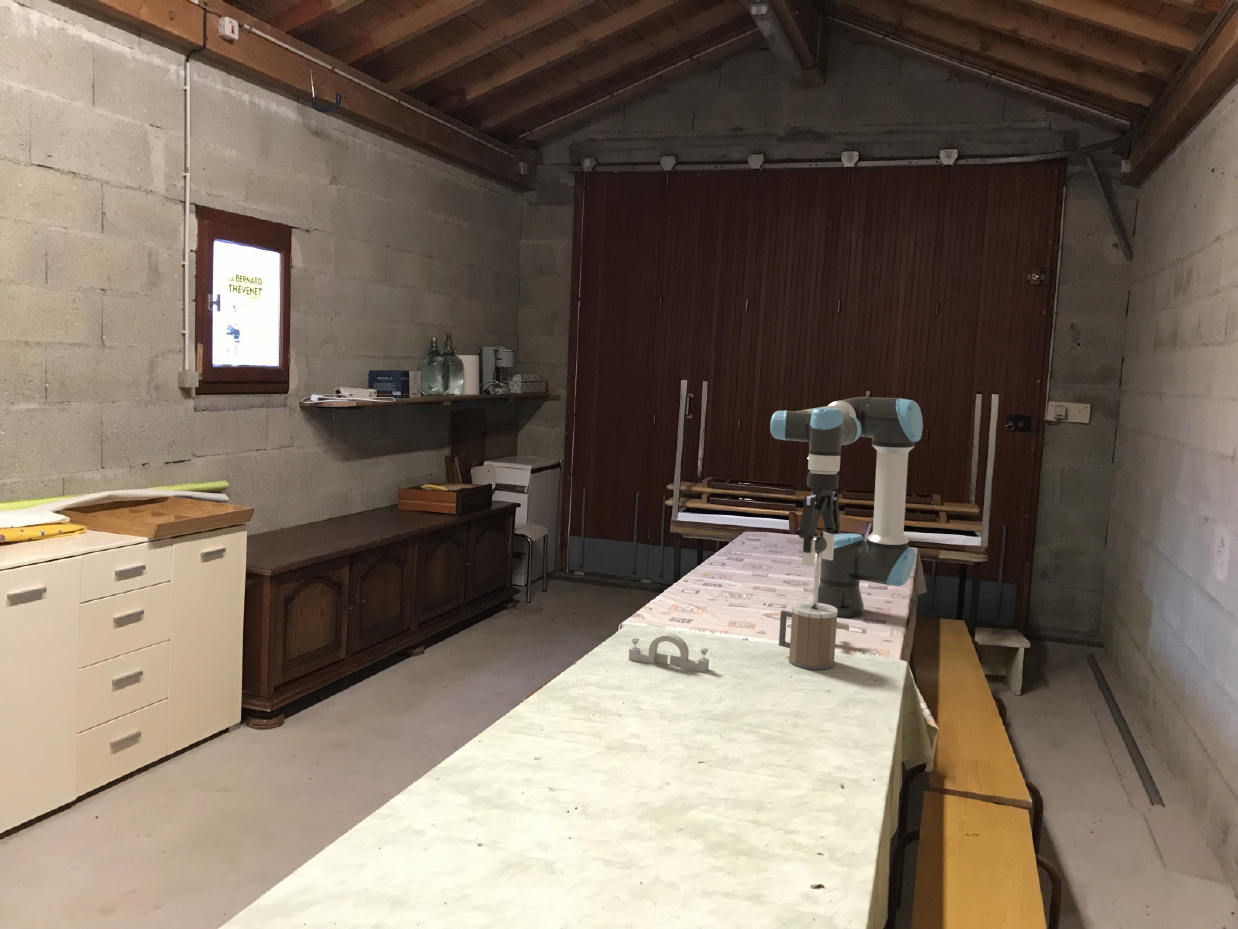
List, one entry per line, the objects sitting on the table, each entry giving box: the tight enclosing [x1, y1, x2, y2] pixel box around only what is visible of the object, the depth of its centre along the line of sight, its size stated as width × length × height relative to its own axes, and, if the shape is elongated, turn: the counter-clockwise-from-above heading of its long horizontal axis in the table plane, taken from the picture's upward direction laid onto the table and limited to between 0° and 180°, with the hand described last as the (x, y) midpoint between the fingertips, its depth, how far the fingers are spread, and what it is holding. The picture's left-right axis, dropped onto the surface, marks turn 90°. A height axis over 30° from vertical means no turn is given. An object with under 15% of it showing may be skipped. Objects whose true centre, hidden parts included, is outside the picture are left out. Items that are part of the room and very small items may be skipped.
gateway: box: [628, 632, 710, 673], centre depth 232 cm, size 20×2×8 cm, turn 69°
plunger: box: [812, 535, 827, 610], centre depth 235 cm, size 8×8×22 cm
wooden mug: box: [778, 601, 838, 671], centre depth 237 cm, size 11×14×14 cm
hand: (817, 562), depth 234 cm, fingers open, 9 cm apart
